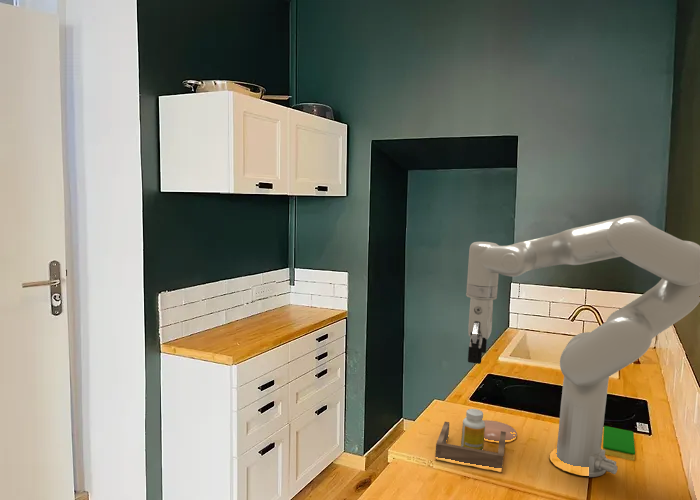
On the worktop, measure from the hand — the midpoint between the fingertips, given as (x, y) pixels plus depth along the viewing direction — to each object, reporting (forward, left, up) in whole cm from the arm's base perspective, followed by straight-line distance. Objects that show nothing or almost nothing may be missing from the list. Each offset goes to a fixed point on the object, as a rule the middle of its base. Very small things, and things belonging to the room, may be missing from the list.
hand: (477, 357), depth 143 cm
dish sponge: (-26, -26, -22) cm, 43 cm away
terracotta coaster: (-2, -6, -21) cm, 22 cm away
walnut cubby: (-6, +8, -21) cm, 23 cm away
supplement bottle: (-4, +6, -21) cm, 23 cm away
